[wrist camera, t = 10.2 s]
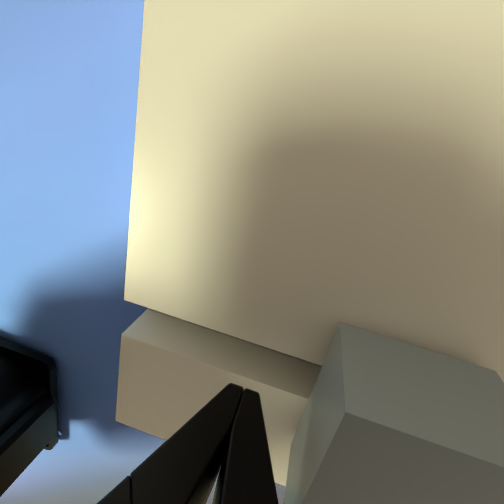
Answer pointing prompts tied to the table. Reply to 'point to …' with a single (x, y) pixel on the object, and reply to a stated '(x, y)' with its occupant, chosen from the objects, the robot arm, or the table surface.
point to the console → (309, 197)
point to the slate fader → (398, 428)
